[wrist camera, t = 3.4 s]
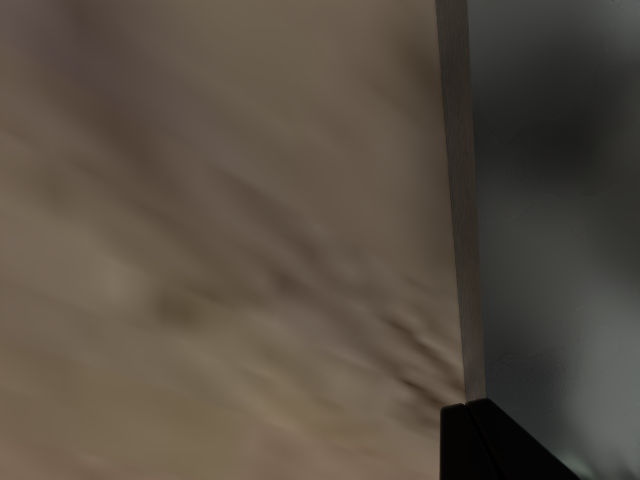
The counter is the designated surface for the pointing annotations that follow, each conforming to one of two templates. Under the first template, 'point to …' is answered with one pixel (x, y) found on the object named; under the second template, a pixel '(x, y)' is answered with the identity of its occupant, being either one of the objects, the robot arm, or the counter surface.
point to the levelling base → (549, 218)
